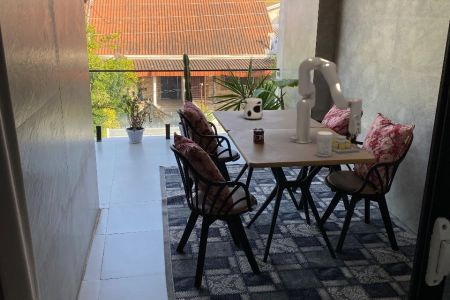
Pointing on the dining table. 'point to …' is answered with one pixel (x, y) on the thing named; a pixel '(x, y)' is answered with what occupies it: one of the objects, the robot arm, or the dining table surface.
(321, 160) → the dining table surface
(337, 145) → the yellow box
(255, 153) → the dining table surface
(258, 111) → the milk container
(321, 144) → the supplement tub
